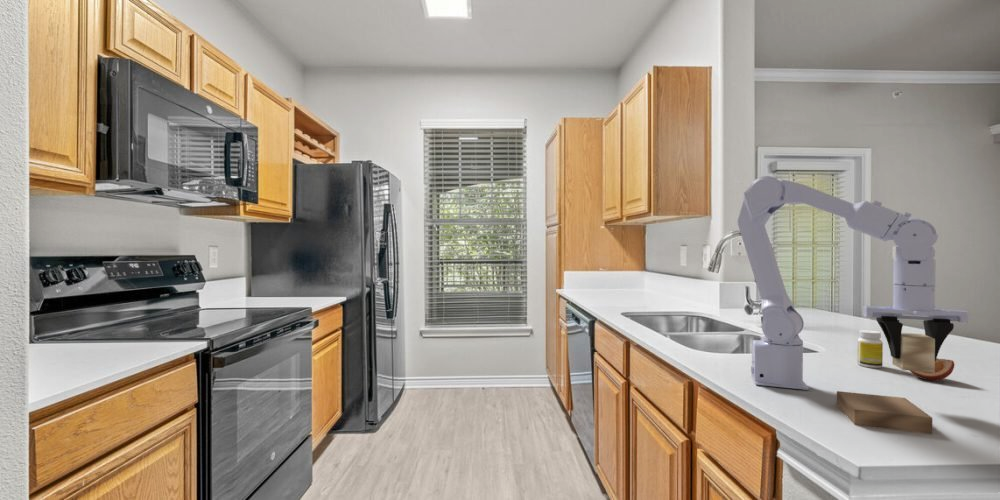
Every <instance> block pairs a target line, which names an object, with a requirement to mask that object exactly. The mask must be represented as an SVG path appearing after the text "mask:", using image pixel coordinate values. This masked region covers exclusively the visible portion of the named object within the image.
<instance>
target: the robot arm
mask: <svg viewBox="0 0 1000 500" xmlns="http://www.w3.org/2000/svg"><path fill="white" fill-rule="evenodd" d="M786 204H787V205H790V206H792V205H802V204H804V205H808V206H810V207H813V208H815V209H819V210H821V211H825V212H827V213H830V214H833V215H835V216H838V217H841V218H844V219H845V221H846V225H847V227H848V228H850V229H852V230H855V231H857V232H860V233H862V234H865V235H868V236H870V237H873V238H876V239H878V240H880V241H883V242H887V241H893V242H894V244H895V245H896V246H895V258H894V259H893V266H892V267H893V268H892V269H893V277H892V278H893V279H892V280H893V285H892V306H885V305H883V306H880V305H879V306H875V305H874V306H873V305H871V306H870V305H869V306H868V305H867V306H865V305H864V306H863V307H862V316H863V317H865V318H871V319H874V318H876V322H877V324H878V325H879V327H880V329H881V330H882V332H883V334H884V337H885V338H886V339H885V340H886V341H887V345H888V349H889V352H890V353H889V354H890V357H891V358H893V357H894V358H896V359H900V353H901V350H900V338H901V333H902V330H903V326H904V324H903V323H902V322H900V320H920V321H921V320H923V321H922V322H923V327H924V335H926V336H929V337H931V338H934V339H935V361H936V358H938V355H939V352H940V349H941V347H942V345H943V343H944V342H945V340H946V338H947V337H948V336H949V335H950V334H951V332H952V331H953V330H954V327H955V325H954V323H952V322H959V323H967V324H968V323H969V311H966V310H959V309H949V308H946V309H945V308H936V264H937V263H936V260H935V259H934V257H935V255H936V250H935V248H934V245H935V244H936V243H937V241H938V238H939V235H938V234H937V230H936V228H935V227H934V225H933V224H932V223H930V222H928V221H926V220H923V219H920V218H910V217H912V213H910V212H907V211H905V212H904V213H903V212H900V211H897V210H893V209H891V208H889V207H888V208H887V207H885V206H882V202H881V201H878V200H875V199H874V200H873V201H872V202H871V201H868V200H863V201H859V202H857V203H852V202H850V201H847V200H844V199H842V198H838V197H837V196H834V195H832V194H829V193H826V192H824V191H821V190H819V189H816V188H813V187H811V186H809V185H806V184H803V183H799V182H795V181H790V180H786V179H782V178H781V179H780V180H779V179H777V178H776V177H774V176H770V175H765V176H764V175H763V176H760V177H758V178H756V179H755V180H753V181H752V182H751V184H750V185H749V186H748V187H747V188H746V190H745V191H744V193H743V201H742V204H741V209H740V212H739V215H738V218H737V226H738V229H739V232H740V235H741V238H742V242H743V245H744V248H745V251H746V255H747V258H748V261H749V265H750V267H751V270H752V272H753V273H752V274H753V277H754V279H755V282H756V285H757V289H758V292H759V296H760V299H761V305H760V306H761V309H760V310H761V314H762V321H761V330H762V333H763V334H764V336H763V339H760V340H758V339H753V340H752V343H751V366H750V373H751V377H752V379H753V382H754V384H755V385H756V386H764V387H765V386H766V387H774V388H776V387H777V388H786V389H795V390H805V391H807V390H809V387H808V385H807V384H806V382H805V381H804V380H803V379H804V376H803V374H804V373H803V372H804V363H803V362H804V340H802V339H801V338H800V337H801V336H800V335H799V334H800V333H801V332H802V330H803V329H804V319H803V316H802V315H801V314H800V313H799V312H798V311H797V310H796V309H795V307H794V305H793V302H792V299H790V297H789V295H788V294H787V293H788V292H787V290H786V287H785V284H784V282H783V277H782V275H781V272H780V269H779V266H778V263H777V259H776V256H775V252H774V250H773V247H772V244H771V241H770V238H769V233H768V232H767V229H766V224H767V222H768V221H769V220H770V218H771V217H772V215H773V214H774V213H775V212H777V211H778V210H779V209H780V208H782V207H783V206H784V205H786ZM899 319H900V320H899Z"/></svg>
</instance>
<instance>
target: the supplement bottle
mask: <svg viewBox="0 0 1000 500" xmlns="http://www.w3.org/2000/svg"><path fill="white" fill-rule="evenodd" d="M881 334H882V333H881V332H880V331H878V330H877V331H876V330H869V329H864V330H863V329H862V330H859V338H858V339H857V365H859V366H860V367H864V368H865V367H866V368H870V369H871V368H872V369H881V368H883V353H884V352H883V349H884V348H883V344H884V343H883V341H882V340H881V336H882V335H881Z"/></svg>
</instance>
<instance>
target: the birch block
mask: <svg viewBox="0 0 1000 500" xmlns="http://www.w3.org/2000/svg"><path fill="white" fill-rule="evenodd" d="M900 350H901V353H900V359H896V358H894V357H892V360H891V362H892V365H893V366H895V367H897V368H899V369H900V370H902V371H908V372H909V371H921V372H933V373H935V339H934V338H931V337H929V336H926V335H925V333H924V334H923V333H909V332H908V333H907V332H901V338H900Z"/></svg>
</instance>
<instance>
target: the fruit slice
mask: <svg viewBox="0 0 1000 500" xmlns="http://www.w3.org/2000/svg"><path fill="white" fill-rule="evenodd" d="M954 369H955V362H954V360H951V359H946V358H938V357H937V358H936V361H935V373H933V372H921V371H910V373H912V374H913V375H914V376H917V377H919V378H921V379H924V380H927V381H941V380H944V379H946V378H948V377H949V376H950V375H952V373H953V371H954Z"/></svg>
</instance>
